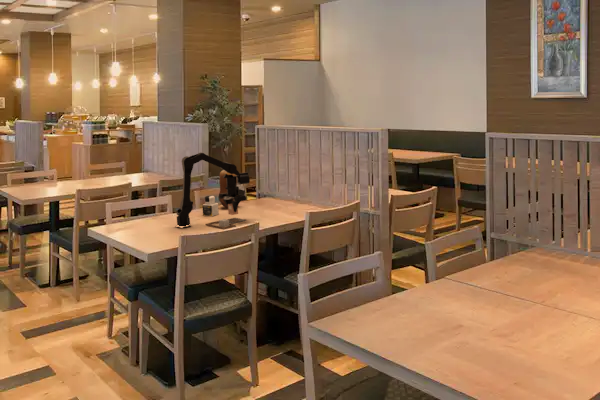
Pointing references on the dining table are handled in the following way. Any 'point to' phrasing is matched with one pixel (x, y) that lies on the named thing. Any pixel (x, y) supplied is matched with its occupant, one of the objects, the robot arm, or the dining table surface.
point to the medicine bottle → (210, 206)
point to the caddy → (220, 226)
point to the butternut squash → (224, 184)
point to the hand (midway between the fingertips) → (233, 211)
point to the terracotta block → (231, 210)
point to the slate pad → (235, 220)
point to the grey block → (223, 222)
